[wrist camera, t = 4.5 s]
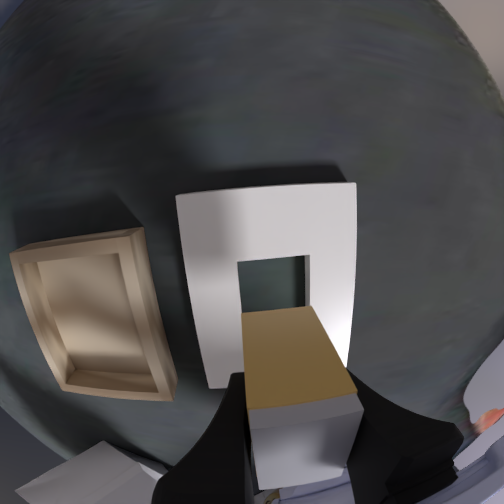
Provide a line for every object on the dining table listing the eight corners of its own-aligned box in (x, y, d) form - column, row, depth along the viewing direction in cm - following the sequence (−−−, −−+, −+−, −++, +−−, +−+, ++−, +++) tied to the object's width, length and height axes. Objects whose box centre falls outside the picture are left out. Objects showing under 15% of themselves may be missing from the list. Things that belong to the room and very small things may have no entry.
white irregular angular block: (151, 571, 15) (235, 569, 14) (0, 500, 9) (28, 496, 8) (155, 498, 32) (224, 474, 31) (38, 424, 26) (83, 384, 25)
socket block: (340, 362, 24) (345, 371, 22) (210, 377, 23) (209, 388, 22) (347, 181, 19) (355, 183, 18) (179, 194, 19) (175, 195, 17)
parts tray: (178, 378, 23) (173, 401, 20) (73, 372, 23) (62, 390, 20) (143, 226, 19) (129, 236, 16) (29, 243, 19) (9, 253, 16)
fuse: (308, 379, 15) (341, 476, 8) (248, 386, 15) (258, 490, 8) (311, 305, 14) (366, 407, 7) (240, 313, 13) (248, 427, 7)
